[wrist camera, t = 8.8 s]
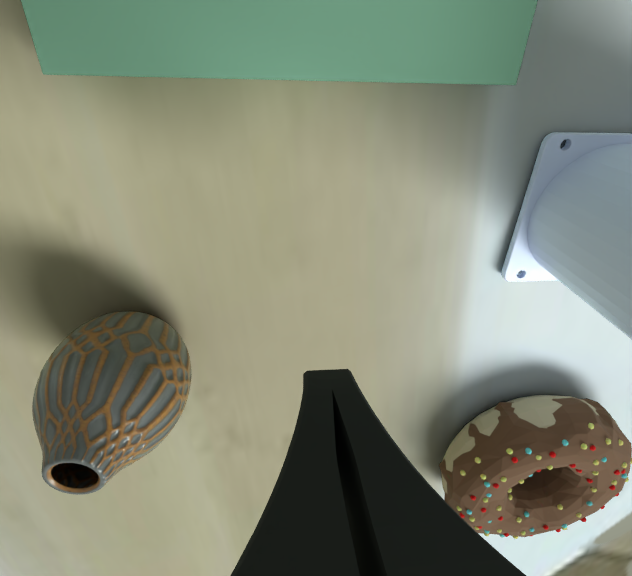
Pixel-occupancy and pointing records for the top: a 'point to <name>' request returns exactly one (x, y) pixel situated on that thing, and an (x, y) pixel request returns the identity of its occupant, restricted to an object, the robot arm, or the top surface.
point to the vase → (108, 398)
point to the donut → (535, 465)
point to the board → (285, 39)
